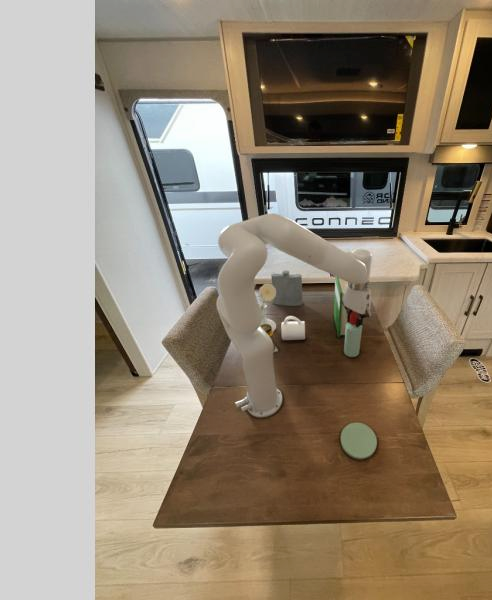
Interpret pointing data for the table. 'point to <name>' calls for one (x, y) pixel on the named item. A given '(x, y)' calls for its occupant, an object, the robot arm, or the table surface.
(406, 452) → the table surface
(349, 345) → the bottle
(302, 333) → the mug
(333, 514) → the table surface
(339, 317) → the hardback book
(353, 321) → the cap
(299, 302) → the hip flask
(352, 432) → the coaster
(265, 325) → the condiment
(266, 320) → the flower in vase
